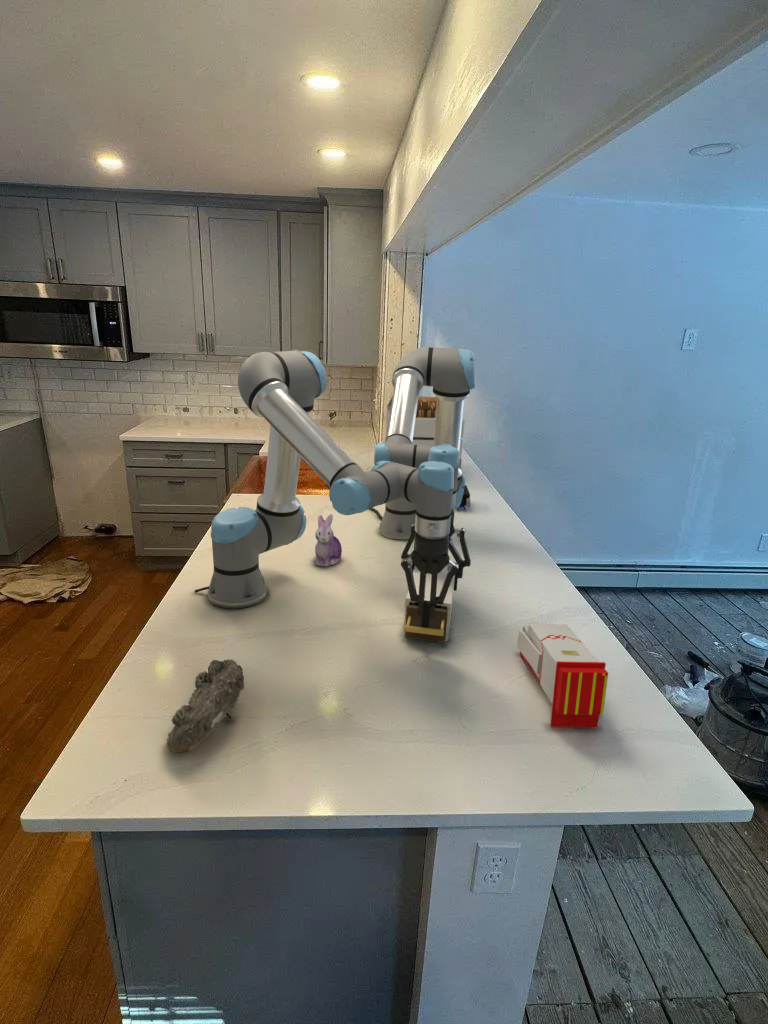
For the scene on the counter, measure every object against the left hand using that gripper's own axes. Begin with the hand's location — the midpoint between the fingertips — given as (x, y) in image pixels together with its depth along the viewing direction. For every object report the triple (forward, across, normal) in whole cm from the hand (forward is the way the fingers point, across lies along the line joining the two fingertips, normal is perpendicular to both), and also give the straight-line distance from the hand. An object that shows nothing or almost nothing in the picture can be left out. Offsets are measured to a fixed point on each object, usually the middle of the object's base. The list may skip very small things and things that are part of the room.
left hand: (425, 628), depth 131 cm
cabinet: (+5, 0, +16) cm, 17 cm away
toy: (+6, +29, -7) cm, 30 cm away
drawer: (+5, 0, +10) cm, 11 cm away
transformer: (+5, -18, +150) cm, 152 cm away
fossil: (+6, -37, -32) cm, 49 cm away
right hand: (0, 0, +22) cm, 22 cm away
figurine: (+6, -34, +41) cm, 54 cm away
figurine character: (+6, +4, +106) cm, 106 cm away
